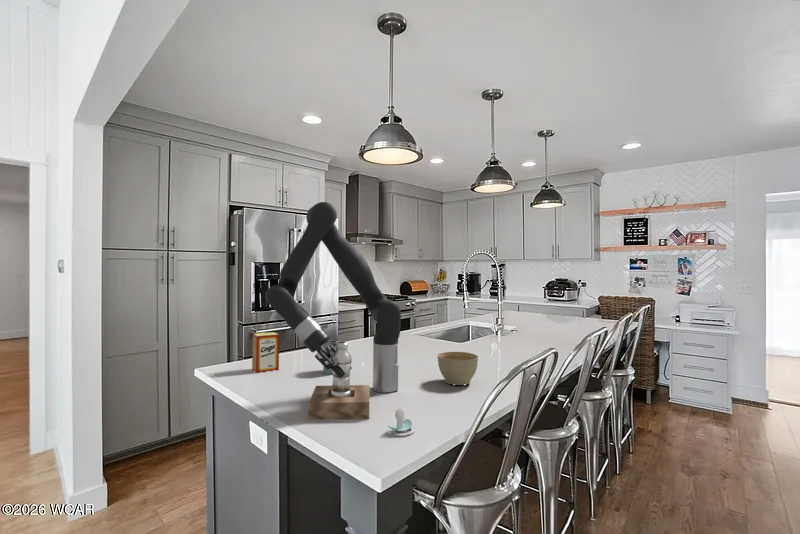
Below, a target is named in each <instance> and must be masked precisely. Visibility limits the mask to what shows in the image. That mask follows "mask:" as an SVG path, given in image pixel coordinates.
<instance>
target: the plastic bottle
mask: <svg viewBox="0 0 800 534" xmlns="http://www.w3.org/2000/svg"><path fill="white" fill-rule="evenodd" d="M335 342H336V351H335V353H334V356H335V358H334V360H335V361H336V363H337V365H339V366H340V367H341V368H342V369H343V371H344V372H345V375H344V376H343V377H342V378H339V377H338V375H337V374H336V373H335V372H334V371H333V375H332V384H331V386H332V391H331V397H351V391H350V385H351V384H350V383H351V382H350V375H351V370H350V368H351V367H352V362H353V358H352V355H351V354H350V352H349V351H348V348H349V347H348V346H349V345H348V341H345V340H344V341H343V340H342V341H341V340H339V341H335Z"/></svg>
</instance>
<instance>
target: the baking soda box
mask: <svg viewBox="0 0 800 534" xmlns="http://www.w3.org/2000/svg"><path fill="white" fill-rule="evenodd" d="M251 358H252V362H251V365H252V366H251V367H252V369H251V370H252V371H253V372H254V371H255V372H256V373H255V372H254V373H255V374H260V372H262V373H268V372H267V371H269V372H274V371H273V370H276V371H279V370H280V369H279V368H280V365H279V364H280V363H279V362H280V334H279V333H277V332H258V333H252V357H251Z"/></svg>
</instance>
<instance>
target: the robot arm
mask: <svg viewBox="0 0 800 534" xmlns="http://www.w3.org/2000/svg"><path fill="white" fill-rule="evenodd" d="M337 217H338V215H337V209H336V207H335V206H333V204H331V203H330V202H326V201H321V202H318V203H316V204H313V205H312V206H311V207H310V208H309V209H308V211H307V212H306V216H305V218H306V222H307V226H306V228H305V230H304V232H303V234H302V236H301V237H300V239H299V241H298V242H297V243H296V244H295V246H294V247H293V249H292V251H290V254H289V255H288V257H287V258H286V261H285V262H284V264H283V266H282V268H281V269H280V273H279V280H278V282H277V284H275V285H272V286H270V287H269V288H268V289H267V290H266V293H265V299H266V303H268V304H269V306H270V307H271V308H272V309H273V310H274V311H275V312H276V313H278V314H279V316H280V317H281V318H283V319H284V321H285V322H286V324H287V325H288V326H289V327H290V328H291V330H292V331H293V332H294V333H295V335H296V336H297V338H298V339H299V340H300V341H301V342H302V344H303V345H305V347H306V348H307V349H308V350H309V351H310V352H311V353H315V352H316V354H315V355H314V357H315V359H316V360H317V361H318V362H319V363H320V364H321V365H322V366H324V367H325V368H326V369H327V370H329V369H331V370H332V369H333V371H334V372H335V373H336V374H337V375H338V377H339V378H342V377H343V376H344V375H345V372H344V371H343V369H342V368H341V367H340V366H339V365H337V363H336V361H335V360H334V358H335V356H334V353H335V351H336V343H334V344H332V345H331V344H330V343H329V342H330V341H329V340H330V338H331V337H330V335H329V334H328V332H327V331H326V330H325V329H324V328H323V327H322V326H321V325H320V324H319V322H318V321H317V320H315V318H313V317H312V316H311V315H310V314H309V313H308V311H307V310H306V309H304V308H303V307H302V306H301V305H300V304H299V303H298V302H297V301H296V300H295V298H294V296H295V295H296V293H297V292H296V291H297V288H298V286H299V284H300V281H301V280H302V277H303V276H304V274H305V272H306V270H307V268H308V266H309V264H310V262H311V259H312V258H313V256H314V255H315V252H316V250H317V248H318V246H319V245H320V243H321V242H322V243H323V245H324V246H325V248H326V249H327V250H328V253H330V255H331V257H332V258H333V260H334V261H335V263H336V264H337V266H338V267H339V269H340V270H341V272H342V273H343V275H344V276H345V278H346V279H347V280H348V282H349V283H350V284H351V286H352V287H353V288H354V290H355V291H356V292H357V293H358V294H359V295H360V297H361V298H362V300H363V302H364V304H365V306H366V307H367V309H368V312H369V313H370V314H371V317H372V318H373V319H374V320H375V321H376V329H375V330H376V332H375V333H374V335H373V337H372V338H373V344H372V345H373V347H372V349H373V352H372V353H373V354H372V359H373V361H372V389H373V391H375V392H376V393H377V392H378V393H392V392H399V337H400V336H401V323H402V321H401V319H402V318H401V317H402V313H401V308H400V305H399V304H398V303H397V302H395V301H393V300H389V299H388V298H387V297H386V296H385V295H384V293H383V292H382V291H381V289H380V288H379V286H378V285H377V283H376V281H375V277H374V275H373V271H372V270H371V267H370V265H369V264H368V262H367V261H366V259H365V258H364V256H363V254H362V253H361V252H360V251H359V250H358V249H357V248H356V247H355V246H354V245H353V244H352V243H351V242H350V241H349V240H348V239H346V238H345V237H344V236H343V235H342V233H341V231H340V230H339V229H338V227H337V226H336V224H335V222H336V221H337ZM351 370H352V366H351V368H350V371H351Z"/></svg>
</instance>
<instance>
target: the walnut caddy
mask: <svg viewBox="0 0 800 534" xmlns="http://www.w3.org/2000/svg"><path fill="white" fill-rule="evenodd" d="M331 391H332V385H315V388H314V389H313V391H312V395H310V399H309V401H308V404H307V405H308V411H307V414H308V415H307V420H308V421H319V420H320V421H321V420H326V421H328V420H329V421H330V420H331V421H332V420H370V385H369V384H365V385H364V384H362V385H361V384H359V385H358V384H355V385H353V384H352V385H351V384H350V391H351V397H331Z"/></svg>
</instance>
